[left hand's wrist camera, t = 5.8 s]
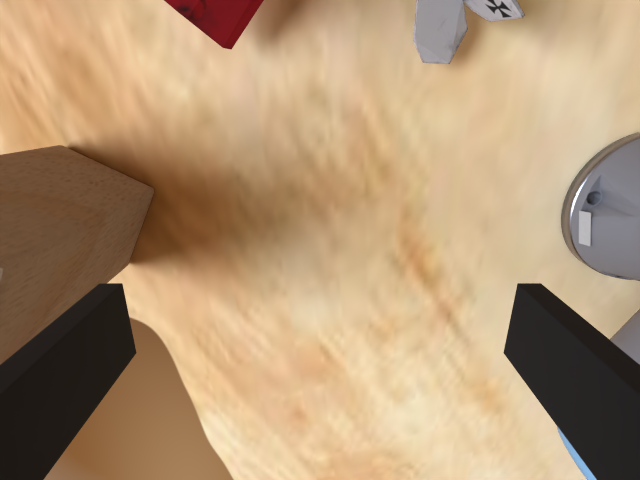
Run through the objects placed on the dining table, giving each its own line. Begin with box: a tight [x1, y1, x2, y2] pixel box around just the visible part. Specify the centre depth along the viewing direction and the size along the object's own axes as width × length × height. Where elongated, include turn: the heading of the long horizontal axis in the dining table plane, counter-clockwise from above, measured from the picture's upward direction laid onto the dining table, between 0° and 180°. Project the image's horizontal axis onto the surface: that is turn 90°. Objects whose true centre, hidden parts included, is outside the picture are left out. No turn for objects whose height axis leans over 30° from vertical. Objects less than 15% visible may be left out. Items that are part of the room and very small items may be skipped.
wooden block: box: [0, 145, 154, 365], centre depth 30 cm, size 10×10×20 cm
